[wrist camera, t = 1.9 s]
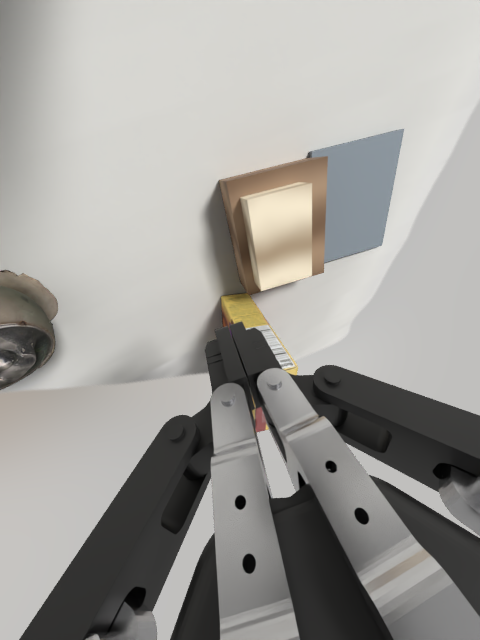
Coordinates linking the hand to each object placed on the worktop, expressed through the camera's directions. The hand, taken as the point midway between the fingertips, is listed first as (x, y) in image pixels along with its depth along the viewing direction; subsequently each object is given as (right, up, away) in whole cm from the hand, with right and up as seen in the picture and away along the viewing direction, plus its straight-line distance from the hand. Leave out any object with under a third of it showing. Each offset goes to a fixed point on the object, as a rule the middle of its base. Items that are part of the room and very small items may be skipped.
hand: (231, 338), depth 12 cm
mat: (+14, +16, +16) cm, 27 cm away
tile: (+4, +9, +11) cm, 15 cm away
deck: (+4, +12, +15) cm, 20 cm away
